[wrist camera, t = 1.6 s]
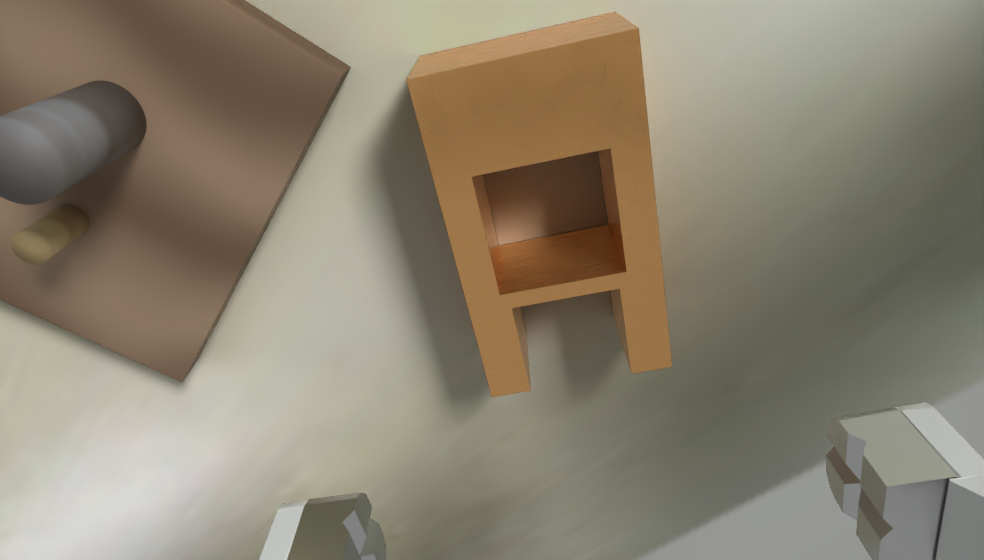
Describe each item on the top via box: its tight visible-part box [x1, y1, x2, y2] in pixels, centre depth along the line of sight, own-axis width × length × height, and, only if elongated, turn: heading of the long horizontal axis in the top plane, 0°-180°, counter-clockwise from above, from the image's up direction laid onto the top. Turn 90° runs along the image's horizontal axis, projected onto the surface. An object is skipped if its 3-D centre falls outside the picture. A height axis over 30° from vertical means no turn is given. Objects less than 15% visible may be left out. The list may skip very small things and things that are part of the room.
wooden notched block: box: [406, 12, 672, 397], centre depth 23 cm, size 12×7×4 cm, turn 12°
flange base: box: [0, 0, 351, 382], centre depth 21 cm, size 15×12×6 cm
